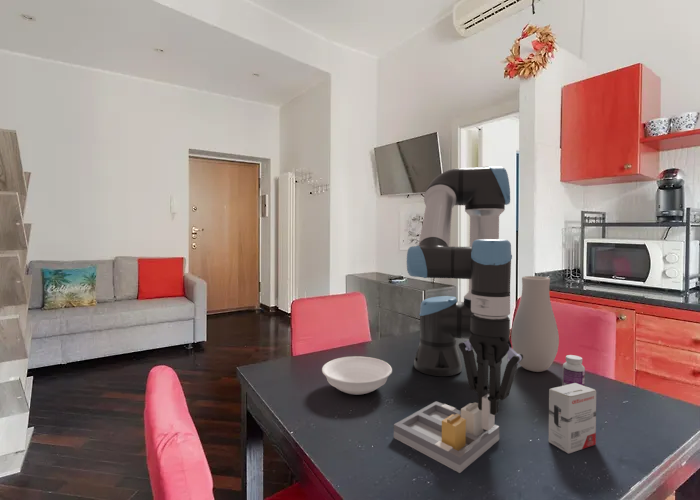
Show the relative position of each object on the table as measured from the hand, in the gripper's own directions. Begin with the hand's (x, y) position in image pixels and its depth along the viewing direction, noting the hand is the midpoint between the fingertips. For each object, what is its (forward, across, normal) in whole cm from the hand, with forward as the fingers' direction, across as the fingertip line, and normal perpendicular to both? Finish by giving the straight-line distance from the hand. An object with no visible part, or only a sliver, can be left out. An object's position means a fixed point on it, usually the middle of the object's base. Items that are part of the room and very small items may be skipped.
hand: (488, 426), depth 76 cm
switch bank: (+4, -8, -4) cm, 9 cm away
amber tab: (+3, -4, -7) cm, 9 cm away
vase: (+5, -10, +52) cm, 53 cm away
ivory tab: (+3, -4, 0) cm, 4 cm away
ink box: (+5, +12, +14) cm, 19 cm away
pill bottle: (+5, +4, +43) cm, 44 cm away
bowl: (+5, -38, 0) cm, 39 cm away
